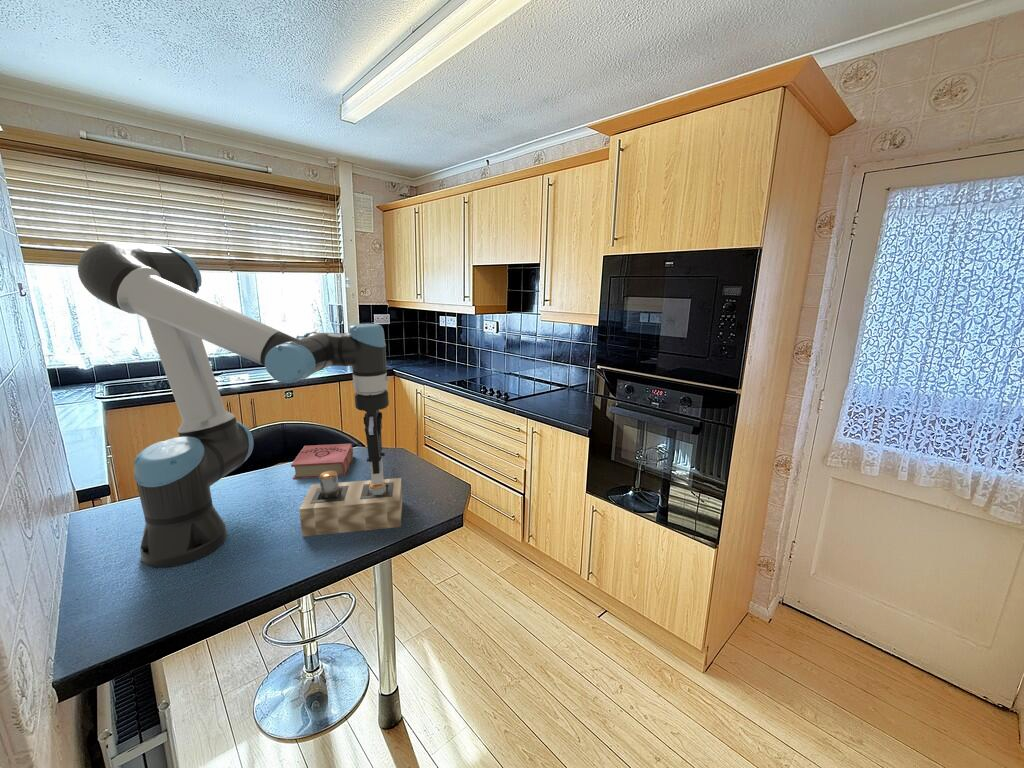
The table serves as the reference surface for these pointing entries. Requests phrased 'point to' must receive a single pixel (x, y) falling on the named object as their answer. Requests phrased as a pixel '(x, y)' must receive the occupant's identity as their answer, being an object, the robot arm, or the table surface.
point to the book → (322, 460)
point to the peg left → (329, 485)
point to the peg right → (377, 489)
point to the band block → (351, 509)
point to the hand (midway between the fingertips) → (377, 483)
